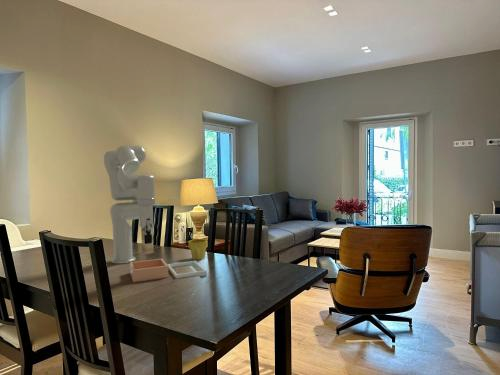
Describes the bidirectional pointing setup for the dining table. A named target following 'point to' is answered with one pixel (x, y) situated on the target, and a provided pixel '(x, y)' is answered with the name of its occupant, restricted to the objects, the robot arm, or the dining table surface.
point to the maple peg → (146, 247)
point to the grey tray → (192, 264)
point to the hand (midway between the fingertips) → (147, 241)
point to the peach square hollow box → (148, 270)
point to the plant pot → (198, 248)
